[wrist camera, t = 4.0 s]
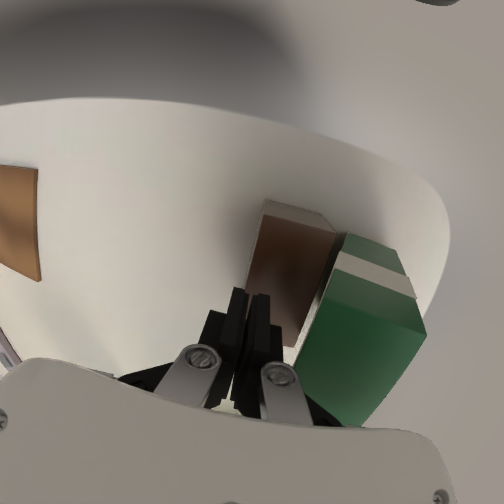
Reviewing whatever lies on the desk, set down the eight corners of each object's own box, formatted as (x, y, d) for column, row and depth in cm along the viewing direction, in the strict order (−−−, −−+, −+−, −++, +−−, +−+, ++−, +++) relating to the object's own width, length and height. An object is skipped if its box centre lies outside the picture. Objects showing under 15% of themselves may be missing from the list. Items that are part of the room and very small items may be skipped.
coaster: (-14, 163, 18) (-18, 163, 18) (37, 169, 19) (33, 170, 18) (-11, 253, 23) (-13, 255, 22) (41, 280, 23) (38, 282, 22)
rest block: (264, 199, 19) (263, 214, 14) (320, 213, 19) (336, 233, 14) (240, 297, 22) (232, 335, 17) (289, 308, 22) (293, 348, 17)
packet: (259, 297, 21) (273, 443, 9) (282, 214, 19) (339, 324, 7) (356, 313, 22) (420, 429, 10) (386, 241, 20) (493, 335, 8)
